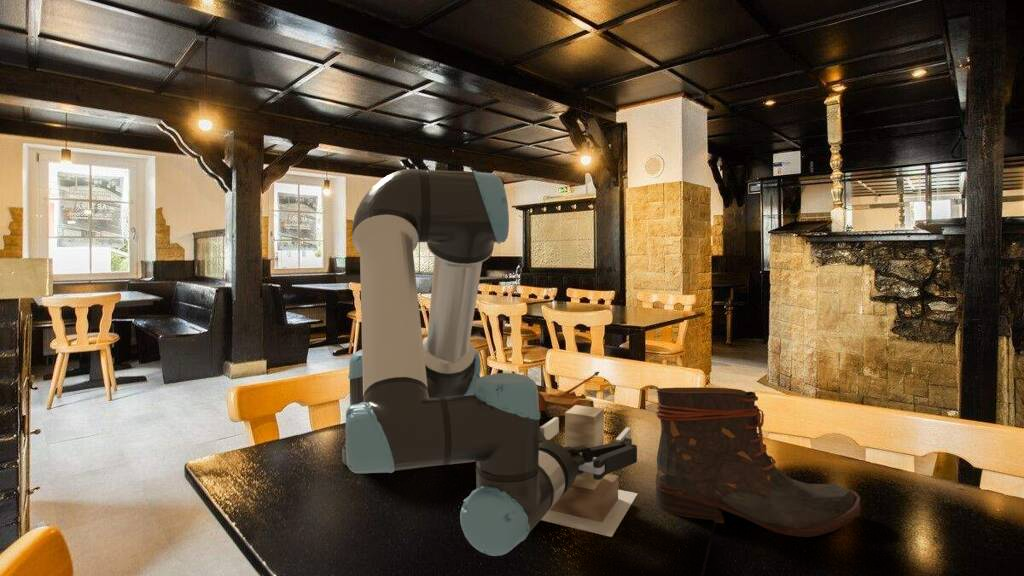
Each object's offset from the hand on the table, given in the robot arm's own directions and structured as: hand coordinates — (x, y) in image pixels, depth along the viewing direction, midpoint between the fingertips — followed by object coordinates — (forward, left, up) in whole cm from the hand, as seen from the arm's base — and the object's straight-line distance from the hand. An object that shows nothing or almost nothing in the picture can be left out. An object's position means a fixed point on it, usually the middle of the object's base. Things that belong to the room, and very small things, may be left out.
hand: (591, 429), depth 91 cm
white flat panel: (-6, -4, -12) cm, 14 cm away
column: (0, -4, -8) cm, 8 cm away
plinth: (0, -4, -12) cm, 12 cm away
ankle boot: (+25, +6, -12) cm, 29 cm away
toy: (-23, +44, -12) cm, 51 cm away
